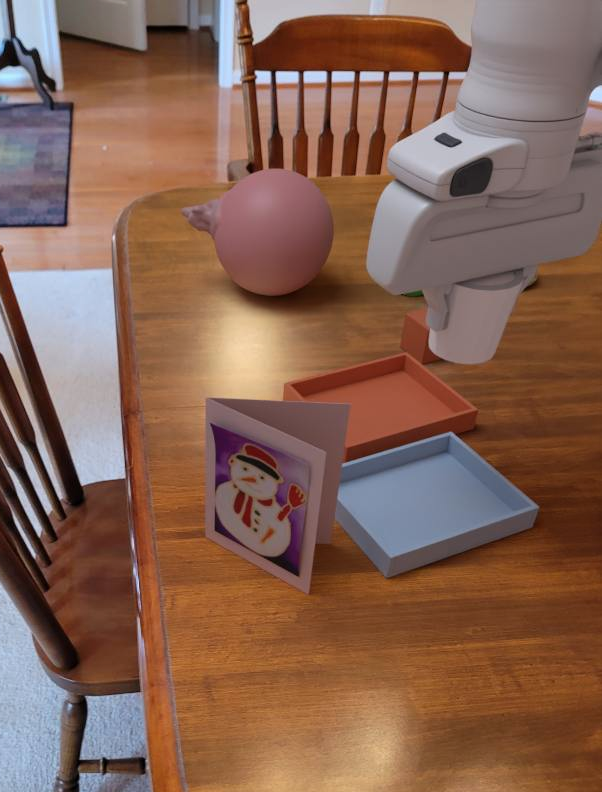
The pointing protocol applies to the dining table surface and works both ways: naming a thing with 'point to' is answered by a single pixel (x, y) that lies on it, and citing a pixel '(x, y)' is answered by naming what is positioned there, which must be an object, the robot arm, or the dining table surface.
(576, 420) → the dining table surface
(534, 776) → the dining table surface
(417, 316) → the terracotta block
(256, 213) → the balloon
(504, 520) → the blue tray
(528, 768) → the dining table surface
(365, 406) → the terracotta tray
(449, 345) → the white yogurt tub
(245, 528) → the greeting card
